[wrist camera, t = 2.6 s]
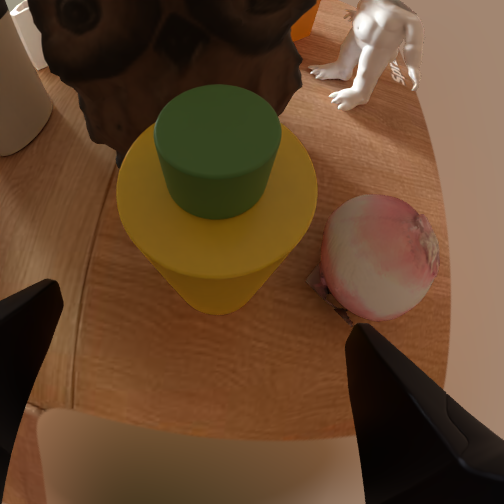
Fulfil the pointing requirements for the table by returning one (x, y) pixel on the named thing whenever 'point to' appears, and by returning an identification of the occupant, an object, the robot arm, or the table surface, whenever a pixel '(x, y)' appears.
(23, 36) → the mug
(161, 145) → the lemon juice bottle
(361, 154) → the table surface
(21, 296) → the robot arm
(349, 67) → the toy creature
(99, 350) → the table surface
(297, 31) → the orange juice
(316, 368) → the table surface
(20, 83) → the travel mug
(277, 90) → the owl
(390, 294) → the onion
